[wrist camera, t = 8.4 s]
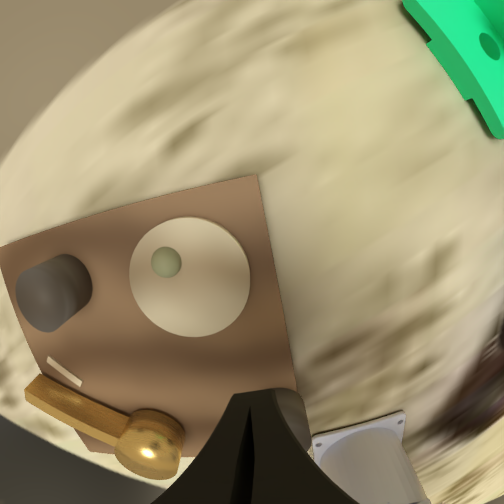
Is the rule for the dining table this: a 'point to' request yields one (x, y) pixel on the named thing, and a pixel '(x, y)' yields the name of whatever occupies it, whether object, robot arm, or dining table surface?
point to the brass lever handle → (115, 428)
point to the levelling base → (160, 308)
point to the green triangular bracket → (468, 49)
